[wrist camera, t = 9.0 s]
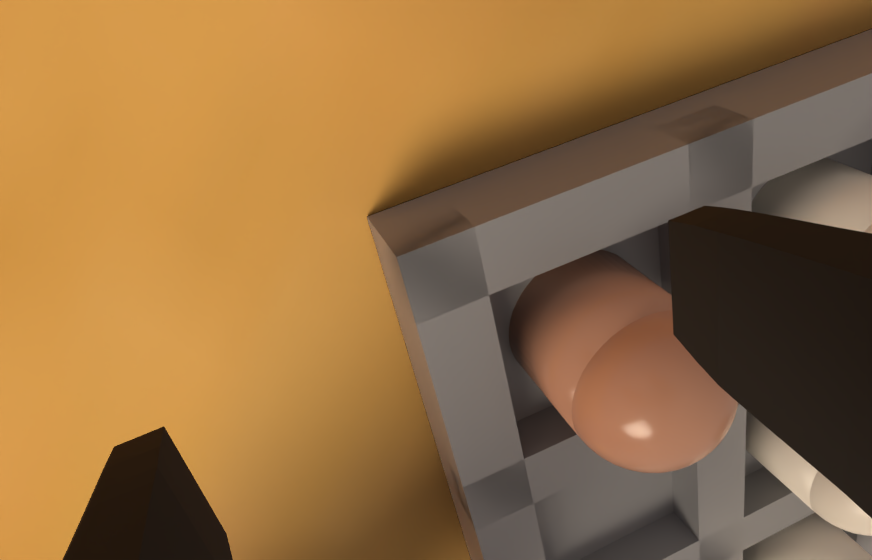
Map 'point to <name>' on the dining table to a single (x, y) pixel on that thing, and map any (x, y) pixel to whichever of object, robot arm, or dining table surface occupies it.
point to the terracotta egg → (618, 365)
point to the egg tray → (649, 253)
